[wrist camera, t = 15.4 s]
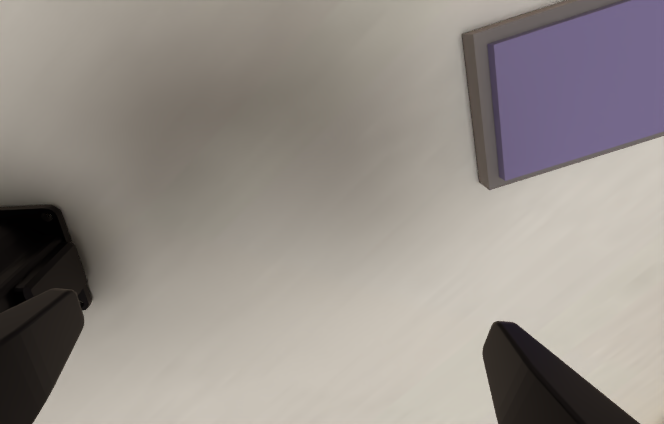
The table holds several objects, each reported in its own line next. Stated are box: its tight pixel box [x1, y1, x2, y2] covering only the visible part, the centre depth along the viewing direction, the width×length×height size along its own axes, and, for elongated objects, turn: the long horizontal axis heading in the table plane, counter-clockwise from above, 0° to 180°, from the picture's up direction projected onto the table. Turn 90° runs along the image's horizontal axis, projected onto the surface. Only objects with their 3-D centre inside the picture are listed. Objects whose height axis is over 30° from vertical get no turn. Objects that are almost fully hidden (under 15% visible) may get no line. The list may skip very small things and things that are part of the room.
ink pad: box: [462, 0, 664, 190], centre depth 19 cm, size 10×8×2 cm
